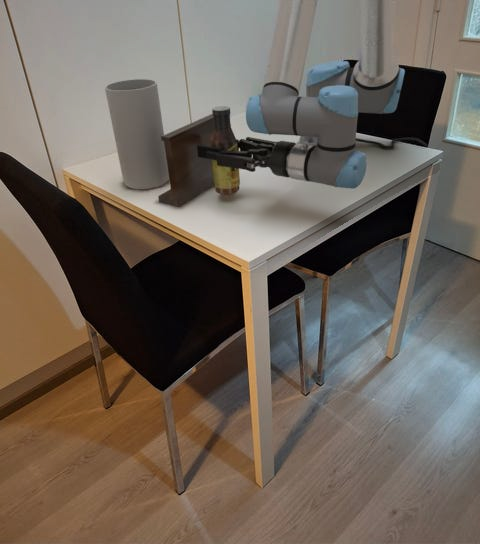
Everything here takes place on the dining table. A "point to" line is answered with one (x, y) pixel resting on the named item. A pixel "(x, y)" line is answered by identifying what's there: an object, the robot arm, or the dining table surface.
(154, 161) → the cylinder vase
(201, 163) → the wooden shelf
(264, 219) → the dining table surface
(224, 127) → the sauce bottle
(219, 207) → the dining table surface
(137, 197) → the dining table surface
